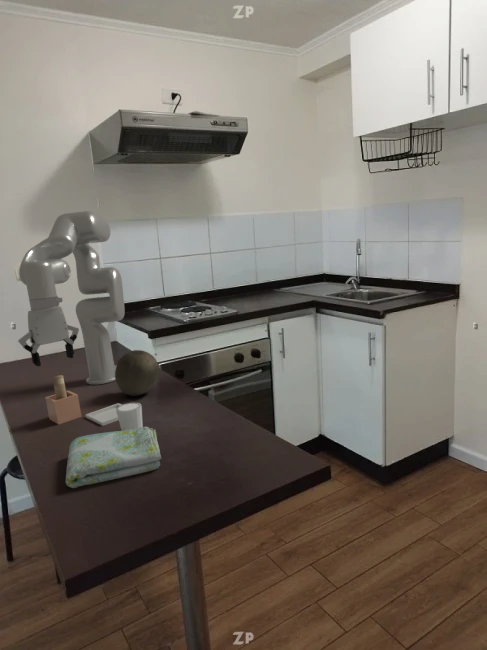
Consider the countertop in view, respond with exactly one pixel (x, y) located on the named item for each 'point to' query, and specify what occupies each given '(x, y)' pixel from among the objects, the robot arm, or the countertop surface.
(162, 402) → the countertop surface
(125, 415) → the shot glass
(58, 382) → the dowel
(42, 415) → the countertop surface
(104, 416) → the tray
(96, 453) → the towel
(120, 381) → the cantaloupe
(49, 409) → the cup
